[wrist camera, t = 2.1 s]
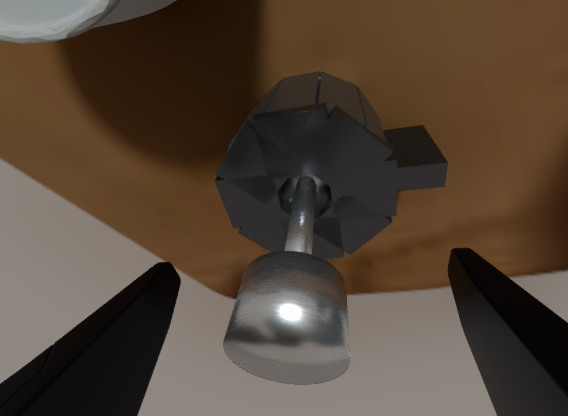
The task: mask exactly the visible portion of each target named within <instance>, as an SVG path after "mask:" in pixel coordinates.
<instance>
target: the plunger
mask: <svg viewBox="0 0 568 416" xmlns="http://www.w3.org/2000/svg"><path fill="white" fill-rule="evenodd" d="M280 193H281V197H282V201H283V203H284V204H286V205H288V206H289V207H291V208H292V211H291V217H290V223H289V228H288V234H287V240H286V245H285V251H277V252H272V253H268V254H265V255H262V256H260V257H258V258H257V259H255V260H253V261H252V262H251V263H250V264H249V265H248V267H247V268H246V270H245V272H244V275H243V279H242V282H241V285H240V289H239V292H238V295H237V298H236V302H235V305H234V308H233V312H232V315H231V318H230V321H229V325H228V328H227V331H226V335H225V338H224V342H223V347H224V351H225V353H226V355H227V356H228V357H229V359H230V360H231V361H232V362H233V363H235V364H236V365H237V366H238V367H240V368H242V369H243V370H245V371H247V372H249V373H251V374H253V375H255V376H258V377H261V378H264V379H267V380H271V381H275V382H280V383H286V384H300V385H306V384H318V383H323V382H327V381H331V380H333V379H336V378H338V377H339V376H341V375H342V374H344V373H345V372H346V370H347V369H348V367H349V364H350V353H349V334H348V315H347V314H348V313H347V293H346V283H345V280H344V278H343V276H342V275H341V273H340V272H339V271H338V270H337V269H336V268H335V267H334V266H333V265H332V264H330V263H329V262H327V261H326V260H324V259H322V258H320V257H317V256H315V255H312V242H313V228H314V215H315V211H320V210H321V209H322V208H323V207H324V206H325V205H326V204H327V203H328V202H329V201H330V200H331V199H332V196H331V188H330V186H329V185H327V184H326V183H324V182H323V181H321V180H320V179H318V178H317V177H315V176H314V175H312V174H311V175H302V176H293V177H288V179H287V180H286V181H285V182H284V184H283V185H282V186H281V187H280Z"/></svg>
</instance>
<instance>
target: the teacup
mask: <svg viewBox="0 0 568 416" xmlns="http://www.w3.org/2000/svg"><path fill="white" fill-rule="evenodd" d="M175 1H176V0H0V40H1V41H10V42H17V43H26V44H27V43H49V42H56V41H59V40H63V39H67V38H72V37H75V36H78V35H80V34H82V33H84V32H86V31H88V30H90V29H91V28H95V27H100V26H104V25H109V24H114V23H118V22H123V21H126V20H130V19H133V18H137V17H140V16H144V15H147V14H150V13H152V12H155V11H157V10H160V9H162V8H164V7H166V6H168V5H170V4H171V3H173V2H175Z"/></svg>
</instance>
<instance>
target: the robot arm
mask: <svg viewBox="0 0 568 416" xmlns="http://www.w3.org/2000/svg"><path fill="white" fill-rule="evenodd" d="M448 276H449V280H450V284H451V288H452V292H453V295H454V299H455V303H456V306H457V310H458V314H459V318H460V321H461V324H462V328H463V331H464V334H465V336H466V339H467V341H468V344H469V346H470V348H471V351H472V354H473V356H474V359H475V361H476V364H477V366H478V369H479V371H480V374H481V376H482V379H483V381H484V384H485V386H486V389H487V391H488V394H489V396H490V399H491V401H492V404H493V406H494V409H495V411H496V414H497V416H568V323H567V322H566V321H565V320H563V319H562V318H561V317H559V316H558V315H557V314H555V313H554V312H553V311H552V310H550V309H549V308H548V307H546V306H545V305H543V304H542V303H541V302H540V301H538V300H537V299H536V298H535V297H533V296H532V295H530V294H529V293H528V292H527V291H525V290H524V289H523V288H521V287H520V286H519V285H517V284H516V283H515V282H514V281H512V280H511V279H510V278H508V277H507V276H506V275H504V274H503V273H502V272H500V271H499V270H498V269H497V268H495V267H494V266H493V265H491V264H490V263H489V262H487V261H486V260H485V259H483V258H482V257H481V256H480V255H478V254H477V253H476V252H474V251H473V250H472V249H470V248H454V249H452V250H451V254H450V259H449V264H448ZM180 283H181V280H180V277H179V275H178V273H177V272H176V270H175V268H174V267H173V265H172V264H171V263H170V262H159V263H157V264H155V265H154V266H153V267H151V268H150V269H149V270H148V271H146V272H145V273H144V274H143V275H141V276H140V277H139V278H137V279H136V280H135V281H133V282H132V283H131V284H130V285H128V286H127V287H126V288H124V289H123V290H122V291H121V292H119V293H118V294H117V295H115V296H114V297H113V298H112V299H110V300H109V301H108V302H106V303H105V304H104V305H103V306H102V307H100V308H99V309H97V310H96V311H95V312H94V313H93V314H91V315H90V316H88V317H87V318H86V319H85V320H83V321H82V322H81V323H80V324H78V325H77V326H76V327H74V328H73V329H72V330H70V331H69V332H68V333H67V334H65V335H64V336H63V337H62V338H60V339H59V340H58V341H56V342H55V343H54V345H51V346H50V347H49V348H47V349H46V350H45V351H43V352H42V353H41V354H40V355H38V356H37V357H36V358H34V359H33V360H32V361H31V362H29V363H28V364H27V365H25V366H24V367H23V368H21V369H20V370H19V371H17V372H16V373H15V374H13V375H12V376H10V377H9V378H7V379H6V380H5V381H3V382H2V383H1V384H0V416H137V415H138V413H139V410H140V407H141V404H142V401H143V399H144V396H145V393H146V390H147V388H148V385H149V382H150V379H151V377H152V374H153V371H154V368H155V366H156V363H157V360H158V357H159V354H160V351H161V349H162V346H163V343H164V341H165V338H166V335H167V332H168V329H169V326H170V323H171V319H172V315H173V312H174V307H175V304H176V300H177V296H178V292H179V288H180Z"/></svg>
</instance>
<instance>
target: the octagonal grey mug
mask: <svg viewBox="0 0 568 416" xmlns="http://www.w3.org/2000/svg"><path fill="white" fill-rule="evenodd" d="M447 165H448V162H447V160H446V159H445V157H444V156H443V154H442V153H441V151H440V150H439V148H438V147H437V145H436V144H435V143H434V141H433V140H432V138H431V137H430V135H429V134H428V132H427V131H426V129H425V128H424V126H423V125H419V126H412V127H405V128H398V129H390V130H383V129H382V126H381V124H380V121H379V118H378V116H377V114H376V112H375V111H374V109H373V108H372V107H371V105H370V104H369V102H368V101H367V99H366V98H365V96H364V95H363V94H362V92H361V91H360V89H359V88H358V87H357V88H356V85H354V84H352V83H349V82H346V81H344V80H341V79H339V78H336V77H334V76H331V75H329V74H326V73H324V72H322V73H321V74H319V72H314V73H309V74H304V75H299V76H293V77H288V78H283V80H280V81H279V82H278V83H277V84H276V85H275V86H274V87H273V88H272V89H270V90H269V91H268V92H267V93H266V94H265V95H264V96H263V97H262V98H261V99H260V100H259V101H258V102H257V103H256V104H255V106H254V107H253V109H252V110H251V112H250V113H249V115H248V116H247V118H246V119H245V121H244V122H243V124H242V125H241V127H240V129H239V130H238V132H237V133H236V135H235V136H234V138H233V139H232V141H231V143H230V144H229V147H228V152H227V154H226V156H225V158H224V159H223V161H222V163H221V164H220V166H219V168H218V170H217V171H216V173H215V174H216V175H217V178H216V180H215V183H216V186H217V188H218V191H219V193H220V196H221V198H222V201H223V203H224V206H225V208H226V211H227V213H228V216H229V218H230V221H231V223H232V226H233V228H240V230H239V232H238V233H239V234H241V235H243V236H244V237H246V238H248V239H250V240H252V241H254V242H255V243H257V244H259V245H261V246H263V247H264V248H266V249H268V250H270V251H272V252H277V251H285V245H286V240H287V234H288V228H289V223H290V217H291V211H292V208H291V207H289V206H288V205H286V204H284V203H283V201H282V197H281V193H280V187H281V186H282V185H283V184H284V182H285V181H286V180H287V179H288V177H293V176H302V175H311V174H312V175H314V176H315V177H317V178H318V179H320V180H321V181H323V182H324V183H326V184H327V185H329V186H330V188H331V196H332V199H331V200H330V201H329V202H328V203H327V204H326V205H325V206H324V207H323V208H322V209H321V210H320V211H315V215H314V228H313V242H312V255H315V256H317V257H320V258H338V257H344V251H345V252H347V253H348V254H350V255H351V254H352V253H354V252H355V251H356V250H358V249H359V248H360V247H361V246H363V245H364V244H365V243H366V242H368V241H369V240H370V239H372V238H373V237H374V236H375V235H377V234H378V233H379V232H380V231H382V230H383V229H384V228H386V227H387V226H388V225H389V224H391V223H392V219H391V216H396V193H397V191H404V190H414V189H425V188H436V187H445V180H446V172H447Z"/></svg>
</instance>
